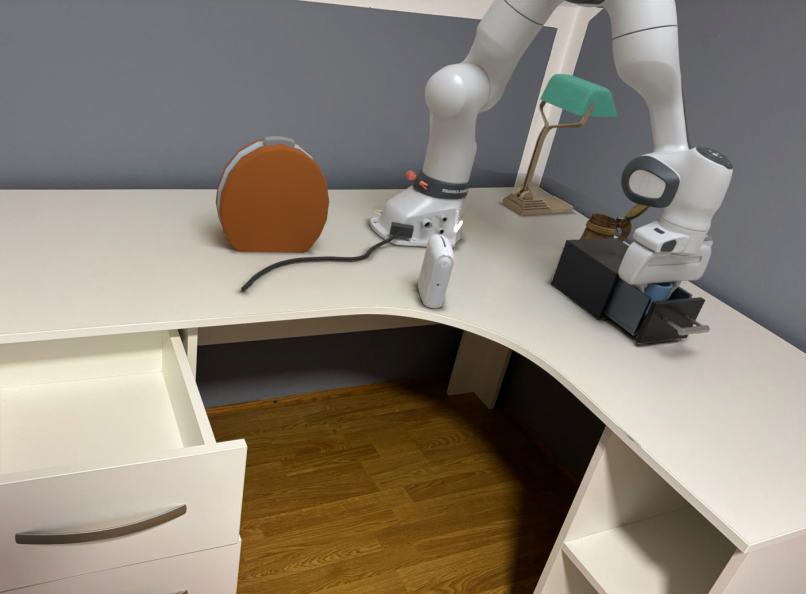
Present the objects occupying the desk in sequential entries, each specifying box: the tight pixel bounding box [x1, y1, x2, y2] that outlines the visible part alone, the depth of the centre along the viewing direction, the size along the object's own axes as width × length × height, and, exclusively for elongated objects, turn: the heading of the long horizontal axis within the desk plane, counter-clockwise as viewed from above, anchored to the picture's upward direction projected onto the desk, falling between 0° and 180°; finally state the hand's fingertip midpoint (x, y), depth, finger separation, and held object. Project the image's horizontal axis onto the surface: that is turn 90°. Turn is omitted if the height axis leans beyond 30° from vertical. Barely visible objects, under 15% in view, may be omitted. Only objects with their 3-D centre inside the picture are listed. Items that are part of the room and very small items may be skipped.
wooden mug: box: [579, 203, 651, 243], centre depth 165 cm, size 9×14×18 cm, turn 77°
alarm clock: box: [215, 135, 330, 254], centre depth 143 cm, size 22×10×23 cm, turn 108°
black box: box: [550, 237, 630, 320], centre depth 150 cm, size 16×15×11 cm
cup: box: [644, 282, 673, 315], centre depth 140 cm, size 6×6×6 cm
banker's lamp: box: [501, 73, 619, 217], centre depth 190 cm, size 16×21×35 cm
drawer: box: [603, 277, 710, 345], centre depth 139 cm, size 20×13×9 cm
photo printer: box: [417, 234, 455, 309], centre depth 137 cm, size 10×4×12 cm, turn 3°
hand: (650, 299), depth 140 cm, fingers closed on cup, 5 cm apart
